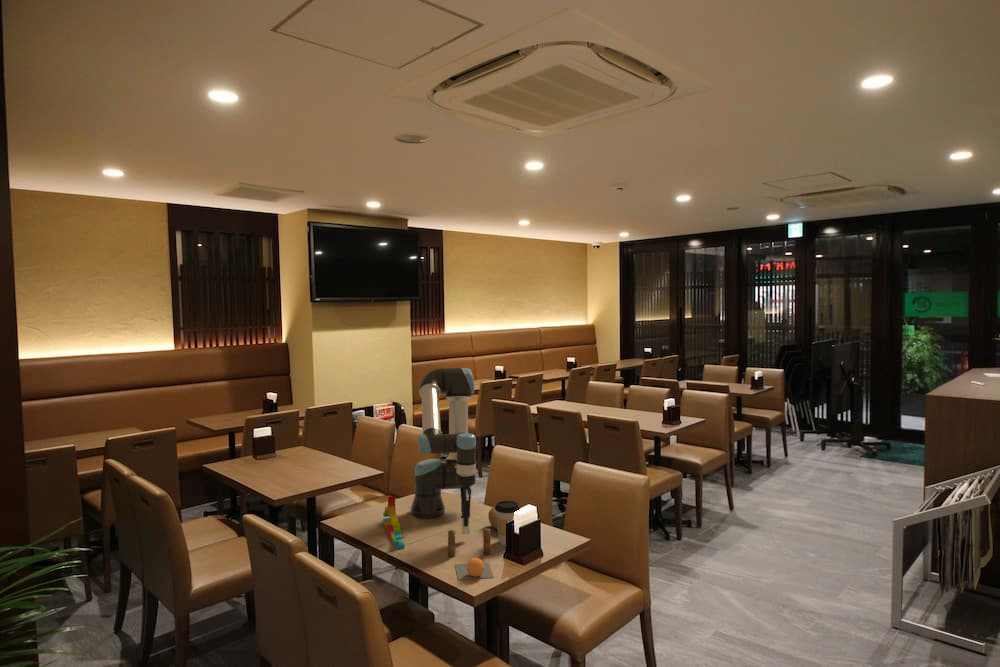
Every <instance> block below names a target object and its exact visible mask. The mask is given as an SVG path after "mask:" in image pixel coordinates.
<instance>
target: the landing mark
mask: <svg viewBox="0 0 1000 667" xmlns="http://www.w3.org/2000/svg"><path fill="white" fill-rule="evenodd" d="M483 564H484V571H483V573H482V574H481V575H480V576H478V577H473V576H471V575H469V574H468V572H467V563H455V564H454V565H455V566H454V567H455V572H456V577H457V580H458V581H463V580H464V581H465V580H467V581H468V580H478V579H479V580H480V579H481V580H482V579H494V578H495V577H494V575H493V574H494V573H493V571H492V568H491V566H490V563H489V562H483Z"/></svg>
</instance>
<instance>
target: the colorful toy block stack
mask: <svg viewBox="0 0 1000 667" xmlns="http://www.w3.org/2000/svg"><path fill="white" fill-rule="evenodd" d="M396 512H397V510H396V496H388V500H387V506H384V512H382V516H383V517H384V518H382V524H383V526H384V527H385V529H386V532H387V533H388V536H389V537H390V539H391V541H392V543H393V546H394V547H395V548H396V550H404V549H405V543H404V540H403V539H404V538H405V537H404V536H402V532H401V531H402V529H401V522H399V518H398V514H397V513H396ZM385 517H386V518H385Z"/></svg>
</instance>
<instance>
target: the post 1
mask: <svg viewBox="0 0 1000 667" xmlns="http://www.w3.org/2000/svg"><path fill="white" fill-rule="evenodd" d="M447 557H449V558H454V557H456V530H454V529H453V530H452V529H450V530H448V531H447Z"/></svg>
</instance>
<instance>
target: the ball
mask: <svg viewBox="0 0 1000 667" xmlns="http://www.w3.org/2000/svg"><path fill="white" fill-rule="evenodd" d="M483 563H484V562H483V561H482V559H481V558H478V557H472V558H470V559H469V560H468V561H467V563H466V564H467V572H468V574H469V575H471V576H473V577H478V576H480V575H481V574H482V573H483V571H484V564H483Z"/></svg>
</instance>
